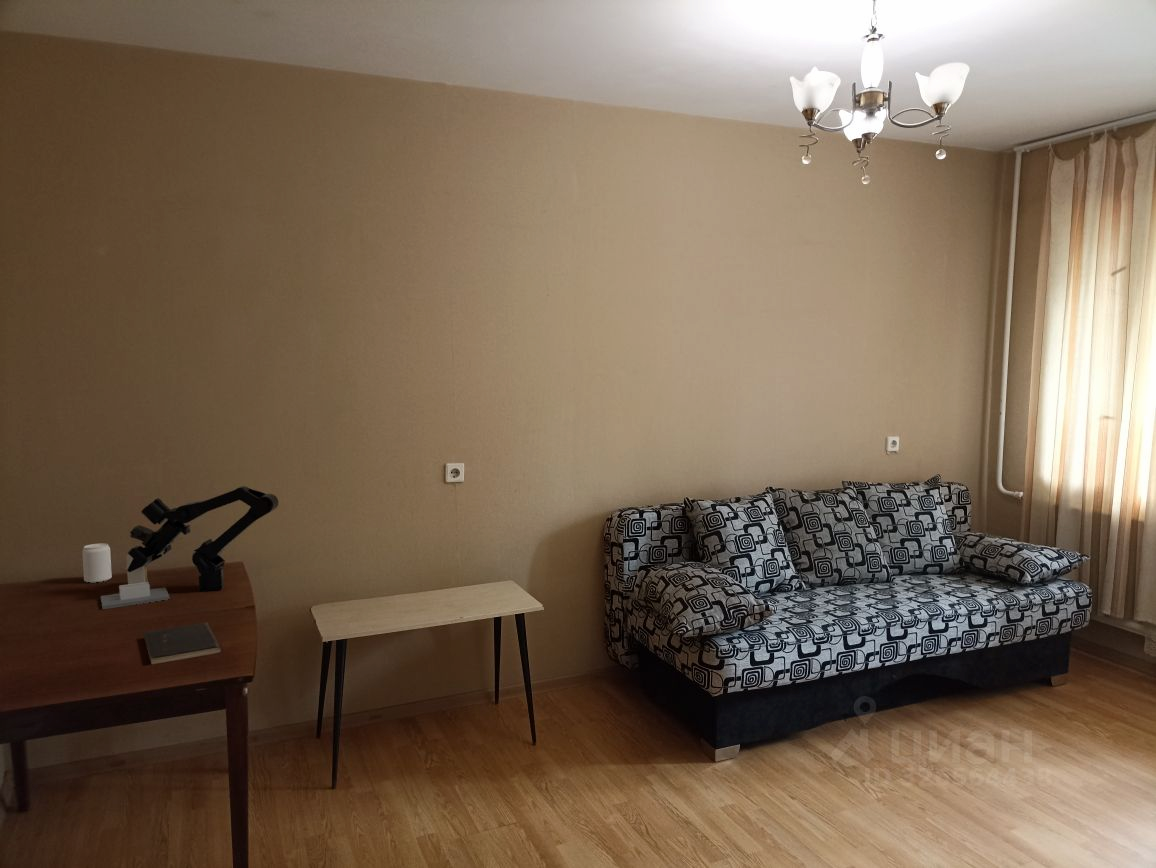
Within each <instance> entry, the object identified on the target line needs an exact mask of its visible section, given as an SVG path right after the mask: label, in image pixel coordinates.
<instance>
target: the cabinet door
mask: <svg viewBox="0 0 1156 868" xmlns="http://www.w3.org/2000/svg"><path fill="white" fill-rule="evenodd" d="M132 560H133V558H132V557H131V556H130V555H129V554H128V553H127V554H126V566H125V568H124V569H125V570H126V571H127V569H128V567H129V566H130V564H131V562H132ZM147 570H148V569H147V565H144V566H142V567H140V568H138V569H136V570H134V571H132V572H128V571H127V585H128V584H135V583H143V582H148V572H147Z"/></svg>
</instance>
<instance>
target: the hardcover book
mask: <svg viewBox="0 0 1156 868" xmlns="http://www.w3.org/2000/svg"><path fill="white" fill-rule="evenodd" d="M142 634H143V635H142V636H143V638H144V641H145V646H146V650H147V653H148V657H149V660H150V664H151V665H156V664H162V663H167V662H173V661H180V660H184V659H189V658H190V659H191V658H196V657H202V656H209V655H214V654H219V653H220V654H221V653H222V651H223V649H222V647H221V644H220V643H219V641H218V639H217V637H216V635H215V633H214V631H213V629H212V628H211V625H210V624H209V623H208V622H207V621H206V622H201V623H195V624H189V625H181V626H176V627H175V626H174V627H168V628H163V629H162V628H161V629H154V630H149V631H148V630H147V631H143V632H142Z"/></svg>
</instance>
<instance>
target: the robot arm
mask: <svg viewBox="0 0 1156 868" xmlns="http://www.w3.org/2000/svg"><path fill="white" fill-rule="evenodd" d="M238 501H241V502H242V503H244V504H246V505H247V506H249V509H248V510H247V512H246V513H245V514H243V516H242V517H240V518H239V519H238V520H237V521H235V523H233V524H232V525H231V526H230V527H229V528H228V529H227V530H226V531H224V532H222V534H221V535H219V536H218V537H217V538H216V539H215V540H212V538H208V539H207V540H205V541H204V542H203V543H201V545H200V546H199V547H197V548H196V549H194V550H193V551H194V552H193V554H192V556H191V560H192V564H194V566H196V568H197V571H198V573H199V576H198V588H199V592H211V590H215V591H222V590H223V589H224V588H225V586H226V585H225V582H224V567H225V565H226V564H225V563H226V559H224V558H223V557H221V554H222V552H223V551H224V550H225V548H226V547H227V546H228V545H230V544H231V543H232V542H233V541H234V540H235V539H236V538H238V537H239V536H240V535H241V534H242V533H244V532H245V531H246V530H247V529H248V528H250V527H251V526H252V525H253V524H254V523H255V522H256V521H257V520H259V519H261V518H262V517H264V516H267V515H268V514H270V513H271V512H273V511H274V510H275V509H277V508H278V506H279V499H278V497H277V496H276V495H275V494H273V493H265V492H262V491H259V490H256V489H252V488H250V487H248V486H246V485H242V486H239V487H237V488H236V489H233V490H231V491H228V492H225V493H222V494H219V495H216V496H214V497H211V498H209V499H205V500H200V501H193V502H188V503H185V504H183V505H180V506H178V507H174V508H170V507H168V505H166V504H165V503H164V502H163V501H162V500H161V498H159V497H157V498H155V499H154V500H153V501H152V502H150V503H149V504H148V505H145V506H144V508H142V510H141V512H140V514H142V515H143V516H144V518H146V519H147V520H148V521H149V522H151V523H152V524H153V525H154V526H155V525H159V526H160V525H161V526H160V527H159V528H158V529H157V530H156V531H155V530H153V529H151V528H148V527H146V526H144V525H141V524H139V525H137V526H134V527H133V528H132V530H131V531H130V532H129V533H130V536H129V537H130V538H132V539H136V540H138V541H140V542H141V545H136V546H134V547H132V548H131V549H130V550H128V552H127V555H128V554H129V555H130V556H131V557H132V558H133V560H132V562H131V564H130V566H129V567H128V569H127V570H126V571H128V572H132V571H134V570H136V569H138V568H140V567H142V566H144V565H146V566H147V565H149V564H150V563H151V562H154V561H156V560H158V559H160V558H162V557H163V556H165V555H168V554H169V552H170V551H171V550H172V544H173V543H174V540H175V539H177V537H178V536H179V535H180V534H181V533H182V534H183V535H187V534H190V533H191V527H190V524H187V523H190V522H193V521H194V520H196V519H199V518H200V517H201V516H203V515H205V514H207V513H208V512H211V511H213V510H216V509H218V508H221V507H224V506H227V505H229V504H233V503H235V502H238ZM142 545H143V546H142ZM224 585H225V586H224ZM222 588H223V589H222Z"/></svg>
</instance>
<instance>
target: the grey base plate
mask: <svg viewBox="0 0 1156 868" xmlns="http://www.w3.org/2000/svg"><path fill="white" fill-rule="evenodd" d="M150 586H151V584H149V581H147V582H143V583H135V584H128V583H127V584H122V585H121V584H120V585H119V586H118V589H119V592H118V593H113V594H107V595H106V594H105V595H101V596H100V601H101V603H102V604H101V603H100V604H101V607H102V610H106V609H107V610H108V609H114V608H120V607H129V605H130V606H136V604H137V605H143V603H144V604H149V602H151V603H156V602H155V601H158V602H162V601H161V600H165V601H169V600H168V599H171V598H170V594H169V593H168V590H167V588H166V587H165V586H164V587H159V588H151V587H150Z"/></svg>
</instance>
